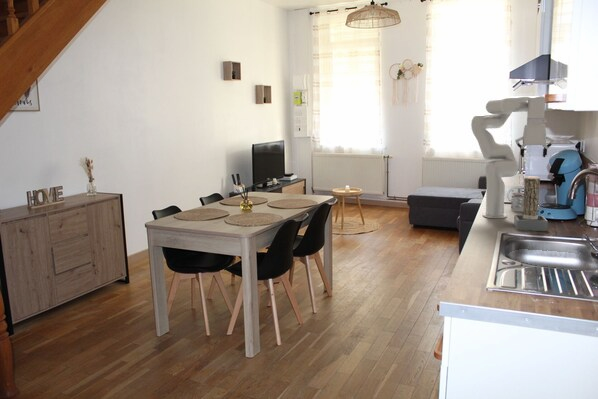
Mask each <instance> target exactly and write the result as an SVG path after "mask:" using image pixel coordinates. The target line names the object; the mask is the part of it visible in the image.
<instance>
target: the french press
mask: <svg viewBox="0 0 598 399" xmlns="http://www.w3.org/2000/svg"><path fill="white" fill-rule="evenodd" d="M518 171H523V169H522V168H521V167H520V168H519V167H518ZM520 178H521V177H519V182H518V184H515V185H513V186H511V188H512V189H509V190H508V191H507V193H506V200H507V201H509V202H510V208H509V209H508V210H509V211H513V212H523V205H524V193H523V192H513V189H516V190H520V189H522V190H524V185H525V184H520V182H521V179H520ZM511 192H512V195H511V199H510V198H509V197H510V196H509V195H510V193H511Z"/></svg>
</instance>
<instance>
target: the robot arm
mask: <svg viewBox="0 0 598 399" xmlns="http://www.w3.org/2000/svg"><path fill="white" fill-rule="evenodd" d="M485 110H486V111H487V113H479V114H475V115H474V116H473V117H472V120H471V124H470V125H471V132H472V134H473V135H474V137H475V140H476V141H477V142H478V143H477V144H478V146H479V149H480V152H481V154H482V156H483V158H484V160H485V161H488V162H487V164H486V165H485V168H484V169H485V177H486V191H485V192H486V193H485V195H486V196H485V200H486V201H485V212H484V213H482V216H483V217H484V218H487V219H505V218H507V217H508V216H507V214H506V213H505V193H506V190H505V188H506V185H505V182H504V180H503V178H510V177H512V178H513V177H515V176H516V175H517V174H518V172H519V170H518V169H519V166H518V165H519V164H518V163H517V159H516V157H515V154H514V152H513V150H512V148H511V146H510V145H509V144H507V143H504V142H503V143H497V142H496V141H495V138H494V136H493V134H492V133H491V132H490V131H488V130H489V129H500V128H501V127H503V125H505V123H506V122H507V120H509V117H510V116H511V114H512V113H518V112H519V113H520V112H521V113H522V112H523V113H524V112H527V116H526V117H527V118H526V124H525V125H524V126H523V127H524V128H523V134H522V136H521V137H519V138H516V139H515V140H514V142H515V143H516V146H517V147H518V148H520V155H519V156H521V158H524V157H525V147H526V146H542V147H543V149H542V157H543V158H546V156H548V149H549V148H550V147H551V146H552V145H553V143H554V142H555V140H554V139H553V138H551V137H549V136H547V129H546V128H547V127H546V124H545V123H548V119H546V118H545V113H546V112H545V110H546V96H543V95H542V96H541V95H537V96H535V95H534V96H532V95H530V96H529V95H528V96H527V95H523V96H521V95H519V96H509V97H506V96H505V97H499V98H493V99H490V100H489V101H487V102H486V105H485ZM487 129H488V130H487ZM520 141H522V144H521V143H520ZM547 141H549V142H548V143H547Z"/></svg>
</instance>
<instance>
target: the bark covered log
mask: <svg viewBox="0 0 598 399" xmlns="http://www.w3.org/2000/svg"><path fill="white" fill-rule="evenodd" d="M540 184H541V178H540V176H536V175H533V176H532V175H527V176H524V184H523V185H524V189H523V192H524V195H523V196H524V205H523V211H522V215H523V220H535V221H538V216H539V205H540V204H539V203H540V187H541V186H540Z"/></svg>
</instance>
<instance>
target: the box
mask: <svg viewBox="0 0 598 399" xmlns="http://www.w3.org/2000/svg"><path fill="white" fill-rule="evenodd" d="M513 216H514V217H513V218H514V219H513V226H514V227H515V228H516V231H529V230H533V232H534V231H535V232H548V225H549V222H548V220H547V219H546V217H545V216H544V215H538V221H535V220H523V214H514V215H513Z"/></svg>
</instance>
